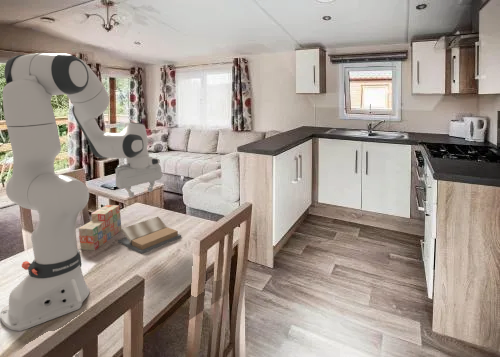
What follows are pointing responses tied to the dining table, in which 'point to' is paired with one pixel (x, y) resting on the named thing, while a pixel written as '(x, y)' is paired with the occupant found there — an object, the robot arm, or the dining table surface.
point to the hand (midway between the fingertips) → (141, 193)
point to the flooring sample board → (126, 242)
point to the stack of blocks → (100, 227)
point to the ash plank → (143, 228)
